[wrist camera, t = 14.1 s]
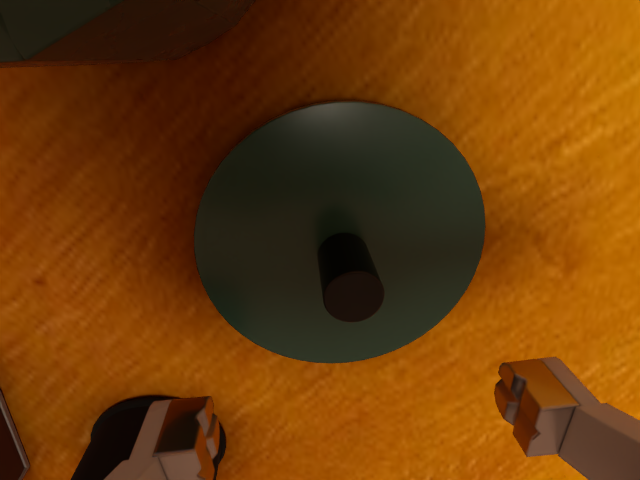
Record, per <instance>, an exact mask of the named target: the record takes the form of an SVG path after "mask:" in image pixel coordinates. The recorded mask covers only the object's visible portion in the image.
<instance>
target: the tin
mask: <svg viewBox="0 0 640 480" xmlns="http://www.w3.org/2000/svg"><path fill="white" fill-rule="evenodd" d="M254 1H255V0H0V68H11V67H40V66H68V65H97V64H119V63H133V62H149V61H161V60H175V59H179V58H181V57H183V56H184V55H186V54H188V53H190V52H192V51H194V50H196V49H198V48H200V47H202V46H204V45H206V44H208V43H210V42H211V41H213V40H214V39H216V38H217V37H219V36H220V35H222V34H223V33H225V32H226V31H227V30H229V29H231V28H233V27H234V26H235V25H236V24H237V23H238V21H239V20H240V19H241V17H242V16H243V15H244V14H245V13H246V11H247V10H248V9H249V8H250V6H251V5H252V4H253V2H254Z"/></svg>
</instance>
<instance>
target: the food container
mask: <svg viewBox="0 0 640 480" xmlns="http://www.w3.org/2000/svg"><path fill="white" fill-rule="evenodd" d="M29 467H30V465H29V462H28V459H27V457H26V454H25V452H24V449H23V447H22V444H21V442H20V439H19V436H18V434H17V431H16V429H15V426H14V424H13V421H12V419H11V416H10V413H9V411H8V408H7V406H6V403H5V401H4V398H3V396H2V393H1V390H0V480H22V479H23V478H24V476H25V474H26V472H27V471H28V469H29Z"/></svg>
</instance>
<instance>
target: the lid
mask: <svg viewBox="0 0 640 480" xmlns="http://www.w3.org/2000/svg"><path fill="white" fill-rule="evenodd" d="M484 236H485V212H484V205H483V200H482V195H481V191H480V188H479V186H478V183H477V181H476V178H475V175H474V173H473V171H472V170H471V168H470V166H469V165H468V163H467V161H466V159H465V158H464V157H463V155H462V154H461V153H460V152H459V150H458V149H457V148H456V147H455V146H454V144H453V143H452V142H451V141H450V140H448V139H447V138H446V137H445V136H444V135H443V134H442V133H441V132H439V131H438V130H437V129H435V128H434V127H432V126H431V125H429V124H428V123H426V122H425V121H423V120H422V119H420V118H418V117H415V116H413V115H411V114H409V113H407V112H404V111H402V110H400V109H397V108H394V107H390V106H387V105H383V104H380V103H375V102H367V101H360V100H333V101H326V102H319V103H313V104H309V105H306V106H302V107H299V108H295V109H292V110H290V111H287V112H285V113H283V114H281V115H279V116H276V117H274V118H272V119H270V120H269V121H267V122H265V123H264V124H262V125H261V126H259V127H257V128H256V129H254V130H253V131H252V132H250V133H249V134H248V135H247V136H246V137H244V138H243V139H242V140H241V141H240V142H239V143H237V144H236V145H235V147H234V148H233V149H232V150H231V151H230V152H229V153H228V154H227V156H226V157H225V158H224V159H223V160H222V162H221V163H220V165H219V166H218V168H217V169H216V171H215V172H214V174H213V176H212V177H211V179H210V180H209V183H208V185H207V187H206V189H205V191H204V193H203V195H202V198H201V201H200V205H199V208H198V212H197V215H196V222H195V230H194V252H195V258H196V264H197V269H198V272H199V275H200V278H201V281H202V284H203V286H204V288H205V290H206V292H207V294H208V296H209V298H210V300H211V301H212V303H213V304H214V306H215V307H216V309H217V310H218V312H219V313H220V314H221V315H222V316H223V317H224V318H225V320H226V321H227V322H228V323H229V324H230V325H231V326H232V327H234V328H235V329H236V330H237V331H238V332H239V333H241V334H242V335H243V336H245V337H246V338H248V339H249V340H251V341H252V342H254V343H255V344H257V345H259V346H261V347H263V348H265V349H267V350H269V351H271V352H274V353H277V354H279V355H282V356H285V357H289V358H293V359H297V360H301V361H308V362H315V363H347V362H354V361H360V360H365V359H369V358H373V357H377V356H380V355H383V354H386V353H389V352H392V351H394V350H396V349H398V348H401V347H403V346H405V345H407V344H409V343H411V342H412V341H414V340H416V339H417V338H419V337H421V336H422V335H424V334H425V333H426V332H428V331H429V330H430V329H432V328H433V327H434V326H436V325H437V324H438V323H439V322H440V321H441V320H442V319H443V318H444V317H445V316H446V315H447V314H448V313H449V312H450V311H451V310H452V308H453V307H454V306H455V305H456V304H457V303H458V301H459V300H460V298H461V297H462V295H463V294H464V293H465V291H466V290H467V288H468V286H469V284H470V282H471V280H472V278H473V276H474V274H475V272H476V269H477V266H478V264H479V261H480V258H481V254H482V249H483V245H484Z"/></svg>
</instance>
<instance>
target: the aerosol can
mask: <svg viewBox="0 0 640 480" xmlns="http://www.w3.org/2000/svg"><path fill="white" fill-rule="evenodd" d="M162 400H173V399H170V398H162V397H145V398H139V399H132V400H129V401H126V402H123V403H120V404H118V405H116V406H114V407H112V408H110V409H108V410H107V411H106V412H105V413H104V414H102V415H101V416H100V417H99V419H98V420H97V421H96V423H95V424H94V426H93V429H92V432H91V442H90V444H89V446H88V447H87V449H86V451H85V453H84V455H83V457H82V459H81V461H80V463H79V465H78V467H77V469H76V470H75V472H74V474H73V476H72V478H71V480H104V479H105V478H106V477H107V476H108V475H109V474H110V473H111V472H112V471H113V470H114V469H115V468H116V467H117V466H118V465H119V464H120V463H121V462H122V461H125V460H129V458H130V455H131V453H132V450H133V448H134V445H135V443H136V440H137V437H138V435H139V432H140V430H141V427H142V425H143V422H144V419H145V417H146V414H147V412H148V409H149V407H150V406H151V404H152V403H153V402H154V401H162ZM219 429H220V436H219V448H218V453H217V455H216V456H215V457H214V458H213V460H212V462H213V465H214V469H215V472H214V478H213V480H216V476H217V470H218V464H219V463H220V461H221V460H222V458H223V456H224V453H225V448H226V442H225V436H224V433H223V430H222V428H221V427H220V425H219Z"/></svg>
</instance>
